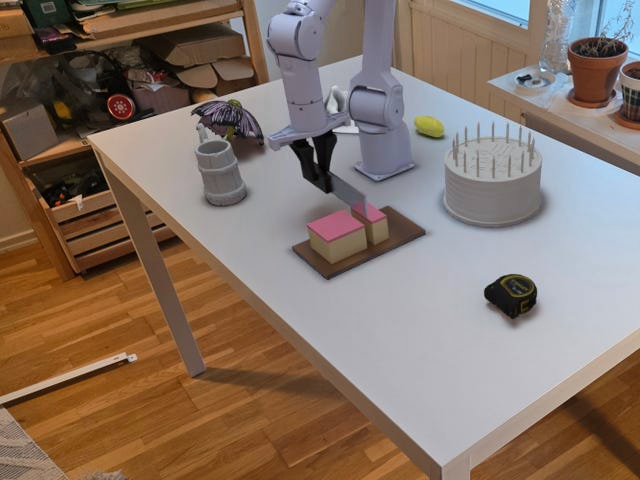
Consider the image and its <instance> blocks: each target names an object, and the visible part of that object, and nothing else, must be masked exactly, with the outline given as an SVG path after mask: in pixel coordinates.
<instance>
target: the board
mask: <svg viewBox="0 0 640 480" xmlns="http://www.w3.org/2000/svg"><path fill="white" fill-rule="evenodd" d="M378 210H379V211H381V212H382V213H384V214H385V215H386V216H387V225H388V235H389V239H387V240H385V241H382V242H380V243H378V244H376V245H374V244H372V243H371V242H370V241H368V240H367V239H366V241H367V249H365V250H362V251H360V252H358V253H356V254H354V255H351V256H349V257H347V258H345V259H343V260H340V261H338V262H336V263H334V264H331V263H330V262H328V261H327V260H326V259H325V258H324V257H322V256H321V255H320V254H319V253H317V252H316V251H315V250H314V249H313V248H311V243H310V238H309V239H306V240H304V241H301V242H299V243H297V244H294V245H292V246H291V251H293V252H294V253H295V254H296V255H298V256H299V257H300V258H301V259H302V260H303V261H304V262H306V263H307V264H308V265H309V266H310V267H311V268H313V269H314V270H315V271H316V272H317V273H318V274H319V275H321V276H322V277H323V278H325V280H329V279H331V278H334V277H336V276H339V275H341V274H342V273H344V272H346V271H349V270H350V269H353V268H356V267H357V266H360V265H362V264H364V263H366V262H368V261H370V260H372V259H375V258H377V257H379V256H381V255H383V254H385V253H388V252H389V251H391V250H394V249H396V248H398V247H401V246H403V245H405V244H407V243H409V242H411V241H413V240H416V239H418V238H420V237H422V236H425V235H426V229H425V228H423V227H422V226H420V225H418V224H417V223H415V222H414V221H413V220H411V219H409V218H408V217H406V216H405V215H403V214H402V213H400V211H397V210H396V209H395V208H393V207H391V206H390V205H386V206H384V207H381V208H378Z"/></svg>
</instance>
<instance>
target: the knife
mask: <svg viewBox="0 0 640 480" xmlns="http://www.w3.org/2000/svg"><path fill="white" fill-rule="evenodd" d="M299 165H300V168H301V169H300V170H301V176H302V178H303V179H304V180H306V181H307V182H308V183H310V184H311V185H313V186H314V187H316V188H317V189H318V190H320V191H321V192H323V194H326V195H329V194H331V195H333V196H335V197H336V198H338V199H339V200H340V201H342V202H343V203H345V204H346V205H347V206H349V208H350V207H352V208H353V209H355V210H356V211H357V212H359V213H360V214H362V215H363V216H364V217H366V218H369V214H368V206H367V203H368V200H367V194H365V193H363V192H362V191H360V190H359V189H358V188H356V187H354V186H353V185H352V184H350V183H348V181H345V179H343V178H341V177H340V176H339V175H336V174H335V173H333V172H332V171H328V170H326V169H325V168H323V167H322V166H320V165H319V164H318V162H317V161H314V166H315V171H316V181H314V182H312V181H311V180H310V179H308V178H307V176H306V173H305V171H304V168H303V166H302V164H301V163H300V162H299Z"/></svg>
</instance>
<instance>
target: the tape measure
mask: <svg viewBox="0 0 640 480" xmlns="http://www.w3.org/2000/svg"><path fill="white" fill-rule="evenodd" d="M483 296H484V298H485V300H486V301H487V302H489V303H490V304H492V305H493V306H495V308H497V309H499V310H500V311H501V312H502V313H504V314H505V316H507V317H508V318H509V319H511V320H516V319H517V318H518V317H520V315H523V314H526V313H528V312H530V311H531V310H532V309H533V308H534V307H535V306H536V304H537V298H538V287H537V285H536V283H535V282H534V281H533V280H532V279H531V278H529V277H528V276H525V275H522V274H519V273H518V274H517V273H509V274H503V275H501V276H500V277H498V278H497V279H495V280H494V281H493V282H492V283H490V284H488V285H486V286H485V288H484V289H483Z"/></svg>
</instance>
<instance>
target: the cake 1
mask: <svg viewBox="0 0 640 480" xmlns="http://www.w3.org/2000/svg"><path fill="white" fill-rule="evenodd" d="M306 228H307V232H308V233H307V234H308V238H309V239H310V243H311V248H313V249H314V250H315V251H316V252H317V253H319V254H320V255H321V256H322V257H324V258H325V259H326V260H327V261H328V262H330V263H331V264H334V263H336V262H338V261H340V260H343V259H345V258H347V257H349V256H351V255H354V254H356V253H358V252H360V251H362V250H365V249H367V241H366V234H365V226H364V224H362V223H361V222H359V221H358V220H357V219H355V218H354V217H352V216H351V213H348V212H347V211H345V210H344V209H341V210H338V211H336V212H333V213H331V214H329V215H326V216H323V217H321V218H319V219H316V220H314V221H311V222H309V223H307V224H306Z"/></svg>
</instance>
